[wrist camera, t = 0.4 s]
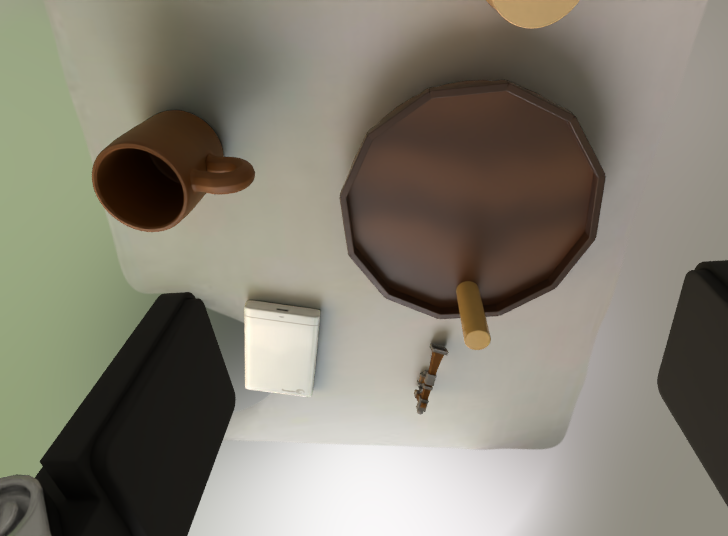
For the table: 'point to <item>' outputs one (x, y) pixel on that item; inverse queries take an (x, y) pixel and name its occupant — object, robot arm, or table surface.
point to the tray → (472, 201)
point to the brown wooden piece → (428, 378)
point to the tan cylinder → (533, 11)
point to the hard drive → (280, 348)
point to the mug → (165, 171)
